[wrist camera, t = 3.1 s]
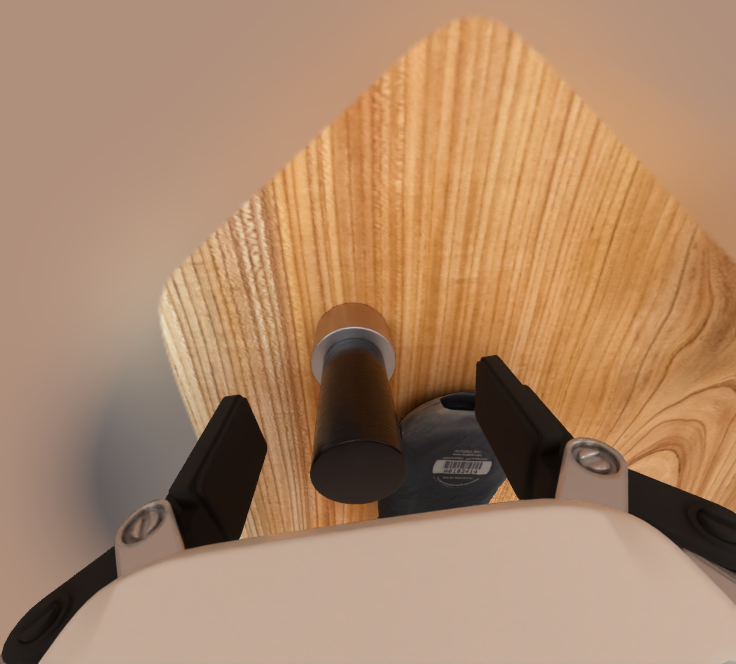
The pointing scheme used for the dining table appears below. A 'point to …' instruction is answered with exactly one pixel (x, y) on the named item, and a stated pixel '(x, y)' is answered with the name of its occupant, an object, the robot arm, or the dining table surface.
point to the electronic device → (444, 459)
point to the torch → (355, 408)
